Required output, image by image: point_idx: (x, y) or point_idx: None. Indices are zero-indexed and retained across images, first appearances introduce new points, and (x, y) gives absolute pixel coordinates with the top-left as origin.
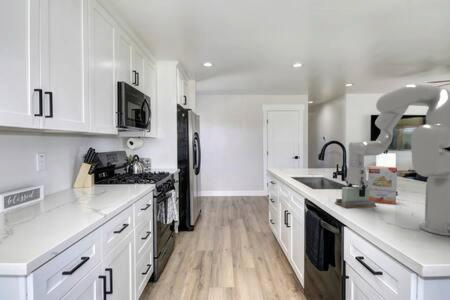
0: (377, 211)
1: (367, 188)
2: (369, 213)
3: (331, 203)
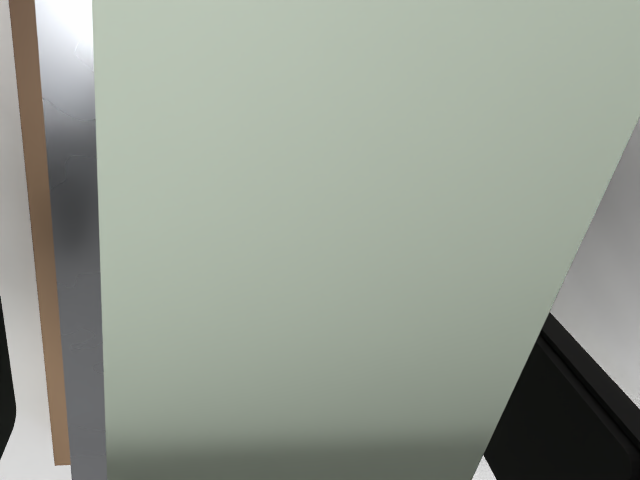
0: (635, 152)
1: (597, 141)
2: (610, 317)
3: (29, 469)
